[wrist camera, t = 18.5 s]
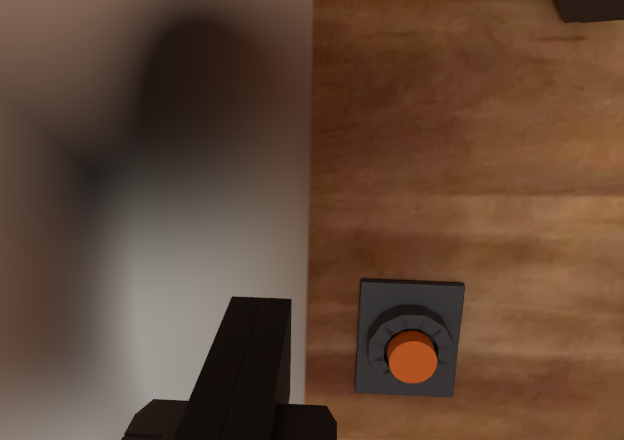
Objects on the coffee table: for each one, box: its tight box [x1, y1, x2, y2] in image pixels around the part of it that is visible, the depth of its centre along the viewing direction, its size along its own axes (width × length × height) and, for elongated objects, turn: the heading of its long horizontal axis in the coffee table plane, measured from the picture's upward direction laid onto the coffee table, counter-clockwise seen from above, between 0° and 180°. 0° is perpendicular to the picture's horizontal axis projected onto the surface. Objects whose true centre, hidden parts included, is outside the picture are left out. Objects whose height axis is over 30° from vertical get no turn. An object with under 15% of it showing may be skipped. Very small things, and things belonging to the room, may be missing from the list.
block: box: [355, 279, 465, 397], centre depth 45 cm, size 10×8×2 cm
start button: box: [387, 330, 437, 383], centre depth 43 cm, size 4×4×2 cm
